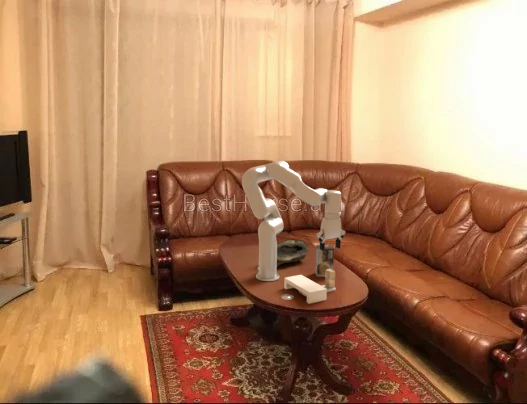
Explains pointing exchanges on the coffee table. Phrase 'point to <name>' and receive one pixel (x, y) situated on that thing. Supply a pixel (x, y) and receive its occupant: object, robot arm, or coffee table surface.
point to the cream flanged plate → (306, 288)
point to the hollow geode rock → (291, 251)
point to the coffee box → (324, 260)
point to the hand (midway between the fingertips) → (329, 248)
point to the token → (287, 296)
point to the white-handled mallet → (327, 281)
